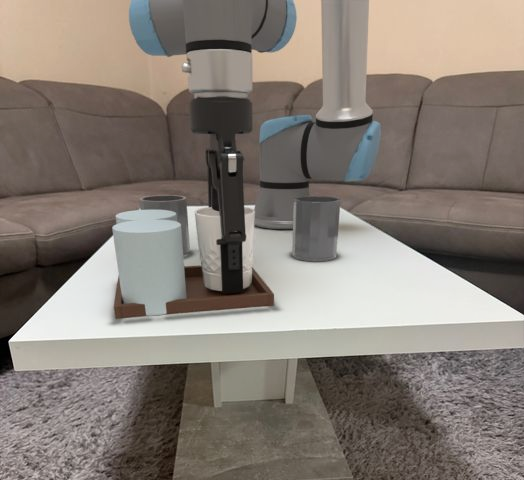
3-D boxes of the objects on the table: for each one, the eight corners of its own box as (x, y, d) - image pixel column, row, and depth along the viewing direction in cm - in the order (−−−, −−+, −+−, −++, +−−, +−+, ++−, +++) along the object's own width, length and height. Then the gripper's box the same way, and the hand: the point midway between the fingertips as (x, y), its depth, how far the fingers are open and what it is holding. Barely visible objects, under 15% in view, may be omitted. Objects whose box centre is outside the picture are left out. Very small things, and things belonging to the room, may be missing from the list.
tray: (248, 275, 72) (248, 262, 71) (274, 309, 59) (274, 293, 58) (121, 284, 68) (119, 270, 67) (116, 323, 55) (113, 306, 54)
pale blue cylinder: (184, 292, 63) (178, 218, 59) (189, 312, 56) (183, 230, 52) (124, 296, 61) (113, 220, 57) (122, 318, 54) (110, 233, 50)
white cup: (248, 295, 60) (247, 217, 56) (191, 291, 61) (185, 215, 57) (260, 277, 67) (260, 207, 62) (209, 274, 68) (205, 205, 64)
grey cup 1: (187, 248, 88) (184, 194, 84) (192, 258, 81) (188, 200, 77) (145, 250, 87) (139, 195, 82) (146, 261, 80) (139, 202, 75)
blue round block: (179, 275, 70) (174, 208, 66) (184, 292, 63) (178, 218, 59) (126, 279, 68) (116, 210, 64) (124, 296, 61) (113, 220, 57)
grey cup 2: (326, 249, 88) (330, 195, 83) (343, 260, 81) (347, 201, 76) (287, 251, 86) (288, 196, 82) (300, 262, 79) (302, 203, 75)
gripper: (181, 100, 62) (193, 264, 72) (198, 90, 44) (210, 310, 54) (235, 101, 64) (239, 261, 74) (273, 92, 46) (271, 305, 56)
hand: (227, 282), depth 64 cm, fingers closed on white cup, 8 cm apart
